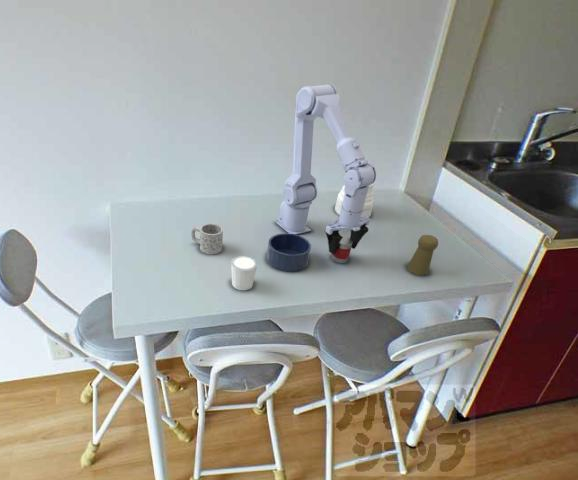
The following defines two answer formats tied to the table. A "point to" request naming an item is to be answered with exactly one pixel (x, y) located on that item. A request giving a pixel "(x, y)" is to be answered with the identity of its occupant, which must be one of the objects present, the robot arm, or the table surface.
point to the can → (343, 250)
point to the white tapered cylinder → (243, 272)
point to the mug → (209, 238)
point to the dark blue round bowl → (288, 252)
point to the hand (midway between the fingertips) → (342, 249)
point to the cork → (423, 255)
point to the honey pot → (367, 205)
